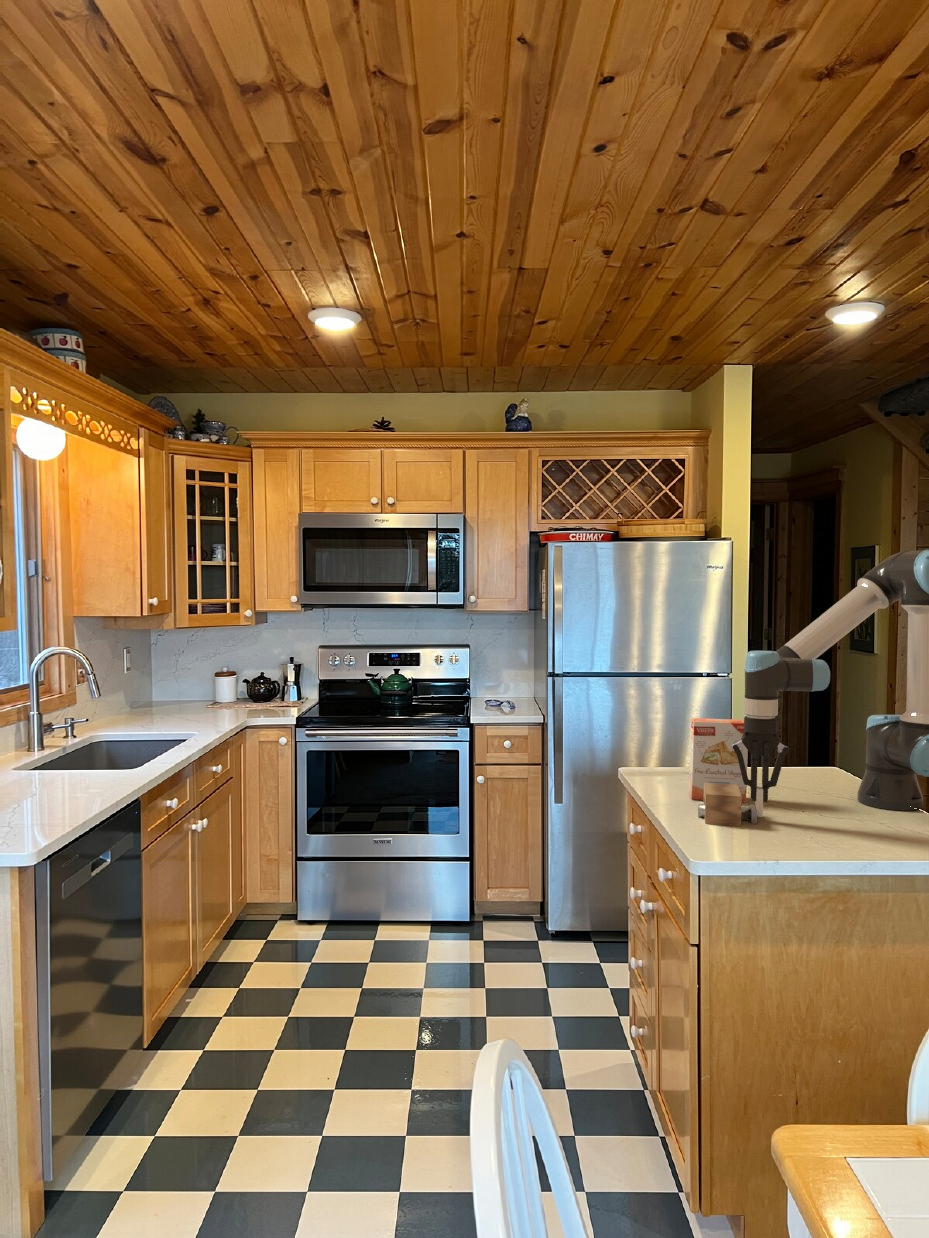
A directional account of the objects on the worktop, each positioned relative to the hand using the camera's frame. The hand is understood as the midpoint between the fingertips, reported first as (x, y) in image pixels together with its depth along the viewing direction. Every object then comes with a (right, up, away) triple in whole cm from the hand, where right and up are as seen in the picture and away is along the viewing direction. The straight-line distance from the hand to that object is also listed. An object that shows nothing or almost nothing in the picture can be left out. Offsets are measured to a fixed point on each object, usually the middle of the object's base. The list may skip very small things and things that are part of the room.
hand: (758, 814), depth 199 cm
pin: (-8, -1, +2) cm, 8 cm away
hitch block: (-8, -1, +2) cm, 9 cm away
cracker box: (-4, -1, +21) cm, 21 cm away
